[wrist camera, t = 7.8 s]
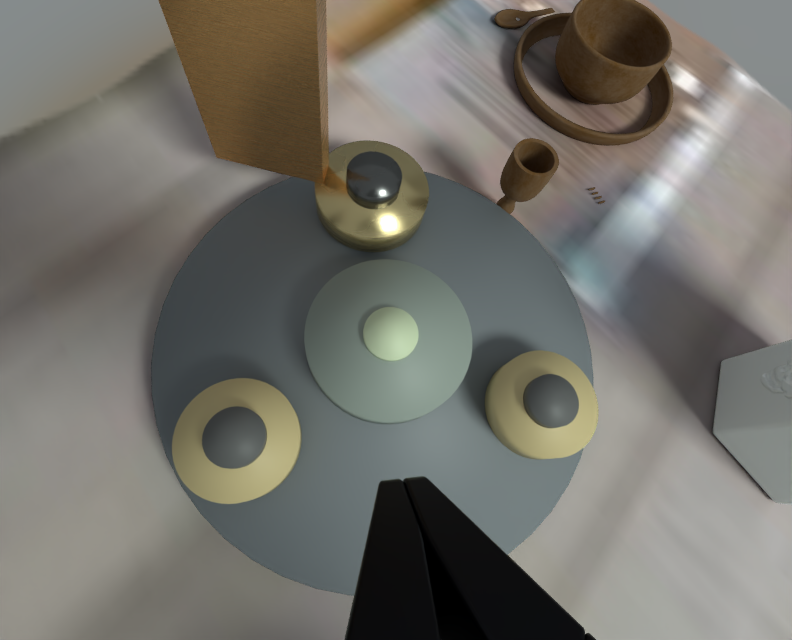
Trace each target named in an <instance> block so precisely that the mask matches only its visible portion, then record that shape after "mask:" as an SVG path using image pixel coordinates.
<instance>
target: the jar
mask: <svg viewBox="0 0 792 640" xmlns="http://www.w3.org/2000/svg"><path fill="white" fill-rule="evenodd" d="M713 434H714V435H715V436H716V437H717V439H718V440H719V441H720V442H721V443H722V444H723V445H724V446H725V447H726V449H727V450H728V451H729V452H730V453H731V454H732V455H733V456H734V458H735V459H736V460H737V461H738V462H739V463H740V464H741V465H742V466H743V468H744V469H745V470H746V471H747V472H748V473H749V474H750V475H751V476H752V478H753V479H754V480H755V481H756V482H757V483H758V484H759V485H760V487H761V488H762V489H763V490H764V491H765V492H766V493H767V494H768V495H769V497H770V498H771V499H772V500H773V501H774V502H776V503H778V504H788V505H792V340H788V341H785V342H782V343H778V344H775V345H772V346H768V347H765V348H762V349H758V350H755V351H752V352H748V353H745V354H741V355H738V356H735V357H731V358H728V359H725V360H723V361H722V362H721V367H720V375H719V384H718V392H717V400H716V408H715V416H714V424H713Z"/></svg>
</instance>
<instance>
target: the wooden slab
mask: <svg viewBox="0 0 792 640" xmlns="http://www.w3.org/2000/svg"><path fill="white" fill-rule="evenodd" d="M159 3H160V5H161V8H162V11H163V13H164V16H165V19H166V22H167V24H168V27H169V30H170V32H171V35H172V38H173V41H174V43H175V46H176V49H177V51H178V54H179V57H180V60H181V62H182V65H183V68H184V70H185V73H186V76H187V79H188V81H189V84H190V87H191V89H192V92H193V95H194V98H195V100H196V103H197V106H198V108H199V111H200V114H201V117H202V119H203V122H204V125H205V127H206V130H207V133H208V135H209V138H210V141H211V144H212V146H213V149H214V152H215V154H216V157H217V158H221V159H225V160H229V161H233V162H237V163H241V164H245V165H249V166H253V167H257V168H261V169H265V170H269V171H273V172H277V173H281V174H285V175H289V176H293V177H297V178H301V179H305V180H309V181H313V182H315V198H316V210H317V214H318V217H319V220H320V222H321V224H322V225H323V227H324V228H325V230H326V231H327V232H328V233H329V234H330V235H331V236H332V237H333V238H334V239H335V240H337V241H338V242H340V243H341V244H343V245H345V246H347V247H349V248H352V249H355V250H358V251H364V252H383V251H388V250H392V249H395V248H397V247H399V246H401V245H403V244H404V243H406V242H407V241H408V240H410V239H411V238H412V237H413V236H414V234H415V233H416V232H417V230H418V229H419V226H420V224H421V222H422V219H423V216H424V213H425V210H426V207H427V204H428V200H429V186H428V181H427V178H426V176H425V174H424V172H423V170H422V168H421V167H420V165H419V164H418V163H417V162H416V161H415V160H414V159H413V158H412V157H411V156H410V155H409V154H407V153H406V152H404V151H403V150H401V149H399V148H397V147H395V146H393V145H390V144H387V143H383V142H378V141H356V142H352V143H348V144H345V145H343V146H341V147H339V148H337V149H335V150H334V151H332V152H331V153H330V154H329V144H328V86H327V28H326V0H159Z"/></svg>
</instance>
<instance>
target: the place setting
mask: <svg viewBox="0 0 792 640" xmlns="http://www.w3.org/2000/svg"><path fill="white" fill-rule="evenodd" d="M553 12H555V11H554V10H553V9H552V8H548V9H543V10H537V11H530V12H525V11H519V10H513V9H506V10H502V11H500V12H499V13H498V14H497V15H496V16H495V18H494V20H495V22H496V23H497V24H498V25H499V26H501V27H503V28H519V27H522V26H524V25H525V24H526V23H527V22H528V21H529V20H530V19H531V18H533V17H536V16H541V15H546V14H550V13H553ZM516 17H517V18H519V19H520V21H517V20H516ZM555 35H561V36H560V39H559V41H558V44H557V48H556V54H555V62H556V67H557V70H558V73H559V75H560V77H561V79H562V80H563V84H564V86H565V88H566V90H567V91H568V92H569V93H570V94H571V95H572V96H573V97H574V98H576V99H577V100H579V101H581V102H584V103H587V104H593V105H598V104H614V103H619V102H623V101H626V100H628V99H630V98H632V97H633V96H635V95H636V94H638V93H639V92H640V91H641V90H642V89H643V88H644V87H645V86H646V85H647V84H648V86H649V88H650V92H651V95H652V111H651V115H650V118H649V120H648V121H647V123H646V124H645V126H644V127H643V128H642V129H641V130H639V131H637V132H632V133H625V134H613V133H604V132H599V131H595V130H591V129H588V128H585V127H582V126H580V125H577V124H575V123H573V122H571V121H569V120H567V119H566V118H564V117H562V116H561V115H559V114H558V113H556V112H555V111H554V110H552V109H551V108H550V107H549V106H548V105H546V104H545V103H544V102H543V101H542V100H541V99H540V98H539V96H538V95H537V94H536V93H535V92H534V90H533V89H532V87H531V86H530V84H529V82H528V80H527V78H526V76H525V74H524V71H523V68H522V61H523V58H524V55H525V54H526V52H527V51H528V50H529V48H530V47H531V46H532V45H534V44H535V43H536V42H538V41H540V40H542V39H544V38H547V37H550V36H555ZM671 50H672V42H671V37H670V34H669V31H668V29H667V28H666V26H665V24H664V23H663V22H662V20H661V19H660V18H659V17H658V16H657V15H656V14H655V13H654V12H652V11H651V10H650V9H649V8H647V7H646V6H644V5H642V4H641V3H639V2H637V1H635V0H581V1H580V2H579V3H578V4H577V5H576V6H575V8H574V10H573V12H572V13H560V14H554V15H550V16H547V17H544V18H541V19H540V20H538V21H536V22H534V23H533V24H532V25H530V26H529V27H528V28H527V29H526V30H525V31H524V33H523V35H522V36H521V38H520V40H519V43H518V46H517V48H516V52H515V57H514V73H515V79H516V82H517V85H518V88H519V90H520V93H521V95H522V97H523V98H524V100H525V101H526V103H527V104H528V106H529V107H530V108H531V109H532V110H533V112H534V113H535V114H536V115H538V116H539V117H540V118H541V119H542V120H543V121H544V122H546V123H547V124H548V125H549V126H551V127H552V128H554V129H556V130H557V131H559V132H561V133H563V134H565V135H567V136H569V137H571V138H574V139H576V140H579V141H583V142H586V143H591V144H596V145H621V144H627V143H630V142H633V141H637V140H639V139H641V138H643V137H645V136H647V135H648V134H650V133H651V132H652V131H654V130H655V129H656V128H657V127H658V126H659V125H660V124H661V123H662V122H663V121H664V120H665V119H666V117H667V116H668V114H669V112H670V110H671V107H672V103H673V87H672V82H671V79H670V76H669V74H668V72H667V69H666V67H665V66H664V63H665V62H666V61H667V59H668V58H669V56H670V54H671ZM558 165H559V159H558V155H557V153H556V152H555V150H554V149H553V148H552V147H551V146H550V145H549V144H547V143H546V142H544V141H542V140H539V139H533V138H530V139H524V140H522V141H520V142H519V143H518V144H517V145H516V147H515V148H514V150H513V151H512V153H511V155H510V157H509V159H508V161H507V163H506V165H505V167H504V169H503V172H502V175H501V180H500V184H501V189H502V191H503V193H504V194H505V196H504V197H503V198H501V199H500V200H499V201H498V202H497V205H498V206H500V207H501V208H502V209H504V210H505V211H506V212H507V213H509V214H511V213H512V212H513V210H514V207H515V202H516V201H517V202H525V201H528V200H530V199H532V198H534V197H535V196H536V195H537V194H538V193H539V192H540V191H541V190H542V189H543V188H544V187H545V185H546V184H547V183H548V182H549V180H550V179H551V177H552V176H553V175H554V173H555V171H556V170H557V168H558ZM594 189H595V187H593V188H590V189H588V190H594ZM594 194H598V192H595V193H592V194H591V195H594ZM601 197H602V196H599V197H596V198H595V199H600V198H601ZM604 202H605V201H601V202H598V204H599V203H604Z"/></svg>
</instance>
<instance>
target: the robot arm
mask: <svg viewBox="0 0 792 640" xmlns="http://www.w3.org/2000/svg"><path fill="white" fill-rule="evenodd" d="M345 640H596V639H595V638H594V637H593V636H592V635H591V634H589V633H586V634H585V630H584V628H583V627H582V626H581V625H580V624H579V623H578V622H577V621H576V620H575V619H574V618H573V617H572V616H571V615H570V614H569V613H567V612H566V611H565V610H564V609H563V608H562V607H561V606H560V605H559V604H558V603H557V602H556V601H555V600H554V599H553V598H552V597H551V596H550V595H549V594H548V593H547V592H546V591H545V590H544V589H542V588H541V587H540V586H539V585H538V584H537V583H536V582H535V581H534V580H533V579H532V578H531V577H530V576H529V575H528V574H527V573H526V572H525V571H524V570H523V569H522V568H521V567H520V566H519V565H517V564H516V563H515V562H514V561H513V560H512V559H511V558H510V557H509V556H508V555H507V554H506V553H505V552H504V551H503V550H502V549H501V548H500V547H499V546H498V545H497V544H496V543H495V542H494V541H492V540H491V539H490V538H489V537H488V536H487V535H486V534H485V533H484V532H483V531H482V530H481V529H480V528H479V527H478V526H477V525H476V524H475V523H474V522H473V521H472V520H471V519H470V518H469V517H467V516H466V515H465V514H464V513H463V512H462V511H461V510H460V509H459V508H458V507H457V506H456V505H455V504H454V503H453V502H452V501H451V500H450V499H449V498H448V497H447V496H446V495H445V494H444V493H442V492H441V491H440V490H439V489H438V488H437V487H436V486H435V485H434V484H433V483H432V482H431V481H430V480H429V479H428V478H427V477H425V476H417V477H408V478H405V479H404V480H403V481H402V480H401V479H390V480H382V481H380V482H379V485H378V489H377V494H376V498H375V503H374V507H373V512H372V517H371V521H370V526H369V530H368V535H367V539H366V544H365V549H364V553H363V558H362V562H361V567H360V571H359V576H358V581H357V585H356V590H355V594H354V599H353V603H352V608H351V613H350V617H349V622H348V626H347V631H346V635H345Z"/></svg>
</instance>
